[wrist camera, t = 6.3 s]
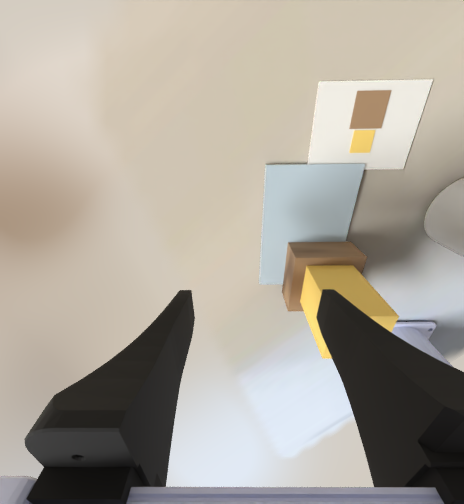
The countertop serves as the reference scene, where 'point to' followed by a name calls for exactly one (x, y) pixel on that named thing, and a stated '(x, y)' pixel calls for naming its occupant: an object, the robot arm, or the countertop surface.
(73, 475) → the robot arm
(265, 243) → the plate
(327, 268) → the ochre brick
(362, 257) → the walnut base brick
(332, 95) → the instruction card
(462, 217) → the beverage can
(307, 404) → the countertop surface
